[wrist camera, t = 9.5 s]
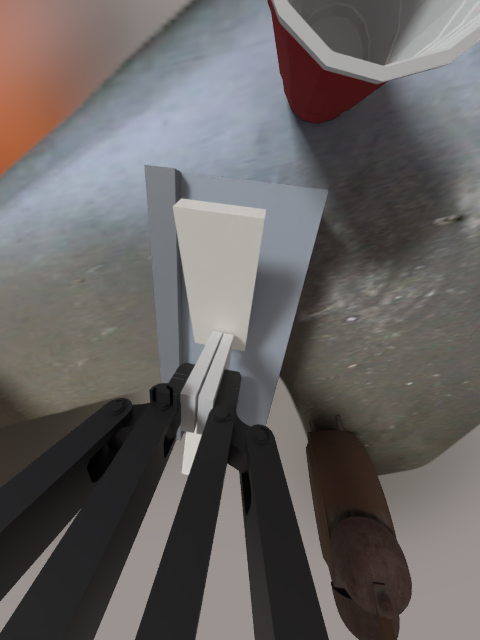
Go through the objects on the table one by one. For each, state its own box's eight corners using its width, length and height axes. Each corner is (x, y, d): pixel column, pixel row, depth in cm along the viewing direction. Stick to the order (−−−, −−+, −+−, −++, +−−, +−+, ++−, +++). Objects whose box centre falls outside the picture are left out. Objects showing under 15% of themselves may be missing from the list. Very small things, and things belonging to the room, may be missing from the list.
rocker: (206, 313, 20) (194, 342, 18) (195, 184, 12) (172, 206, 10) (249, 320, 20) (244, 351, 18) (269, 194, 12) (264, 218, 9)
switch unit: (185, 394, 32) (165, 437, 26) (183, 183, 19) (144, 164, 13) (262, 409, 31) (262, 456, 25) (314, 199, 19) (337, 188, 12)
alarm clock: (350, 462, 34) (440, 723, 16) (305, 461, 36) (345, 702, 18) (353, 399, 28) (501, 702, 11) (299, 401, 30) (350, 674, 12)
